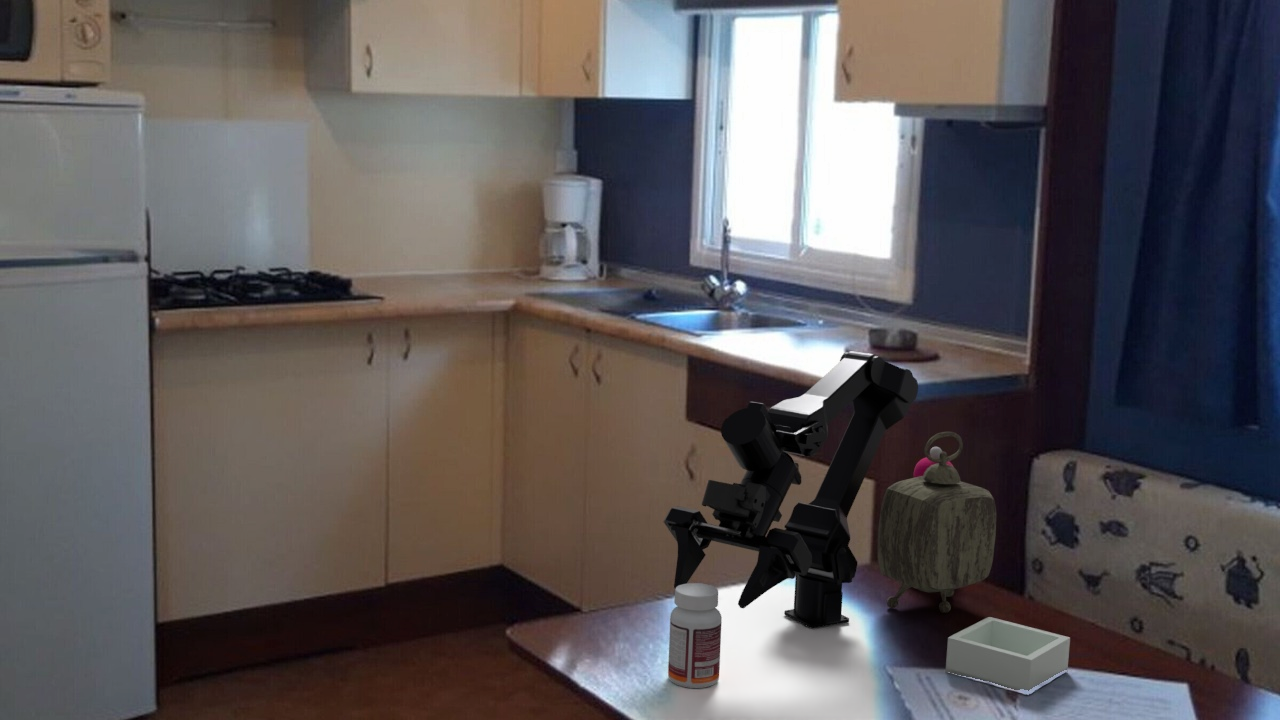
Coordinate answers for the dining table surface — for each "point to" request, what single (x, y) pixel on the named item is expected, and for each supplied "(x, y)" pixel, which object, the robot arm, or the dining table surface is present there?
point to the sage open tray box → (1007, 654)
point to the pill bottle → (695, 636)
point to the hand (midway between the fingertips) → (707, 598)
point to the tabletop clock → (936, 530)
